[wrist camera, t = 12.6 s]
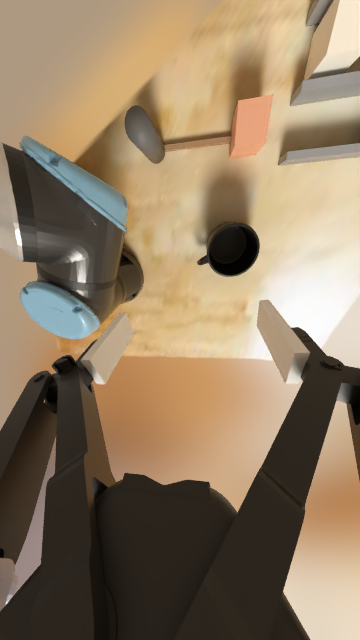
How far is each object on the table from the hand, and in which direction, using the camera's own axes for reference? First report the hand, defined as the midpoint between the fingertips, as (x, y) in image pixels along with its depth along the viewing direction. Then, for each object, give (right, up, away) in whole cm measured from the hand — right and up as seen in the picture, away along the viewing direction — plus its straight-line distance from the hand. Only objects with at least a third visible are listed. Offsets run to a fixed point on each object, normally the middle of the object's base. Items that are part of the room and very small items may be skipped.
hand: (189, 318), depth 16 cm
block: (+20, +37, +7) cm, 43 cm away
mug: (+9, +17, +22) cm, 29 cm away
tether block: (+3, +32, +13) cm, 35 cm away
